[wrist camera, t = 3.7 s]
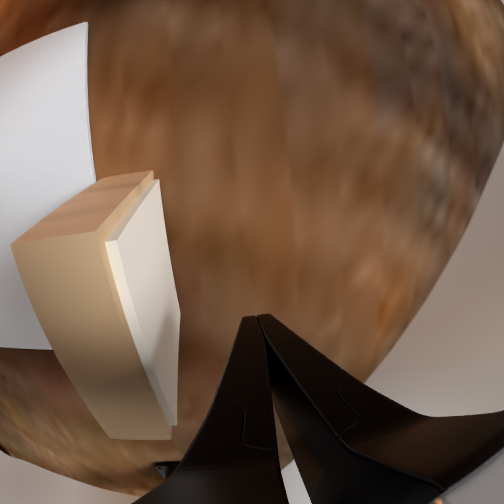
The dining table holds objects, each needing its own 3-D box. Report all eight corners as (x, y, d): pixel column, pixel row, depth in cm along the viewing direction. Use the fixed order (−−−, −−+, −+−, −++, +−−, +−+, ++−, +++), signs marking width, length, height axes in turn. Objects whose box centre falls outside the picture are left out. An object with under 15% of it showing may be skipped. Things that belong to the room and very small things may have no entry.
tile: (181, 314, 16) (179, 439, 9) (134, 318, 16) (109, 438, 9) (159, 169, 13) (108, 229, 6) (102, 177, 12) (10, 244, 5)
